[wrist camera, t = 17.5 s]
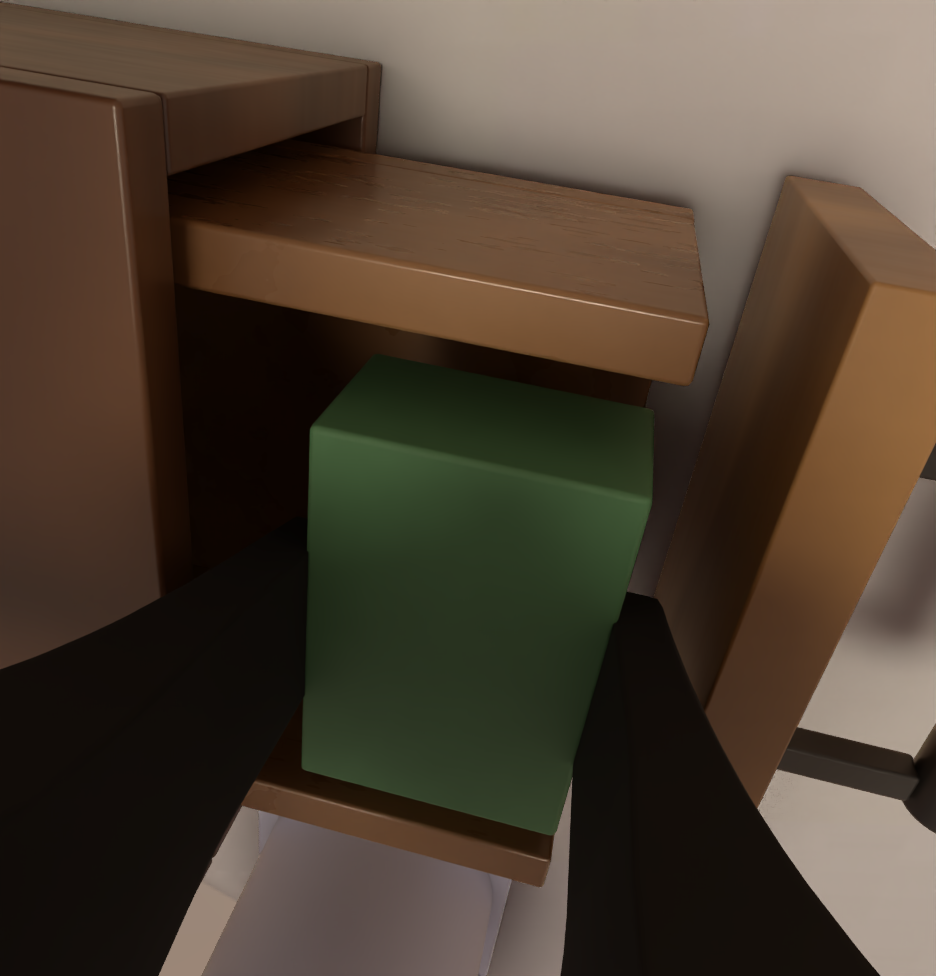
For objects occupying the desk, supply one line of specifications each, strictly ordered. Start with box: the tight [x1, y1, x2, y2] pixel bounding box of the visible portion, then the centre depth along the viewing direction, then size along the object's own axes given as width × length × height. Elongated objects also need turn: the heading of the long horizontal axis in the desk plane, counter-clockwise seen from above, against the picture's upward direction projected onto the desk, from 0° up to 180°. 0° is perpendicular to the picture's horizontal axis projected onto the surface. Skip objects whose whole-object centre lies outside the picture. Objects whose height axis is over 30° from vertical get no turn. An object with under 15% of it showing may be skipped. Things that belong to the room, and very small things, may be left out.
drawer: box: [167, 139, 936, 887], centre depth 14 cm, size 18×11×6 cm, turn 83°
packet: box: [301, 354, 654, 835], centre depth 12 cm, size 6×4×2 cm, turn 173°
